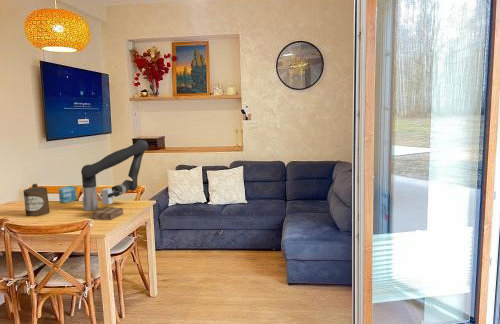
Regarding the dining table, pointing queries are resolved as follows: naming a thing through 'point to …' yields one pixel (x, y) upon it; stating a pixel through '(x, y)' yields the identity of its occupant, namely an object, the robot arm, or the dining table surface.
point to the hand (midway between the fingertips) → (104, 195)
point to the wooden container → (36, 201)
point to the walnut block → (107, 213)
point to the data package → (67, 194)
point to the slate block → (106, 196)
